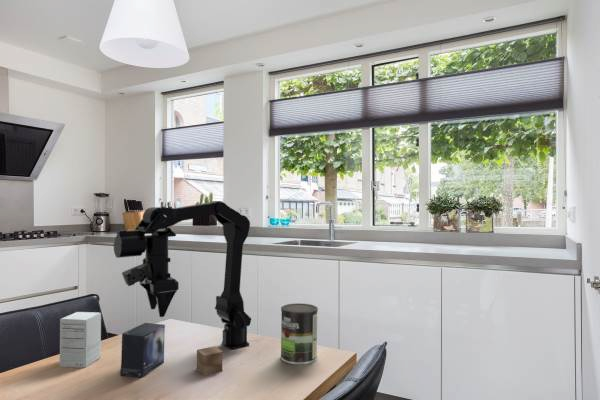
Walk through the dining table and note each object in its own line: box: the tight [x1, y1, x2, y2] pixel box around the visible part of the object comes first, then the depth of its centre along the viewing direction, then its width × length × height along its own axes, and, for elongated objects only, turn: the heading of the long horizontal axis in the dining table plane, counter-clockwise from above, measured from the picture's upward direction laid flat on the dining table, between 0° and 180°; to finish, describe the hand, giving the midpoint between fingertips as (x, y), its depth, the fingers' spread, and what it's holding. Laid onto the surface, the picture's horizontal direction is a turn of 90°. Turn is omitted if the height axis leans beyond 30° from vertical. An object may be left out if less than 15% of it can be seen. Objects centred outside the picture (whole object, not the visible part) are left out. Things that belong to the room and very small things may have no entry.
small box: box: [119, 322, 166, 378], centre depth 106 cm, size 11×6×10 cm, turn 168°
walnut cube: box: [196, 345, 223, 376], centre depth 105 cm, size 5×5×5 cm
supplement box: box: [59, 311, 102, 368], centre depth 110 cm, size 7×7×13 cm
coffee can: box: [280, 303, 319, 366], centre depth 114 cm, size 10×10×14 cm
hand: (157, 312), depth 108 cm, fingers open, 9 cm apart
